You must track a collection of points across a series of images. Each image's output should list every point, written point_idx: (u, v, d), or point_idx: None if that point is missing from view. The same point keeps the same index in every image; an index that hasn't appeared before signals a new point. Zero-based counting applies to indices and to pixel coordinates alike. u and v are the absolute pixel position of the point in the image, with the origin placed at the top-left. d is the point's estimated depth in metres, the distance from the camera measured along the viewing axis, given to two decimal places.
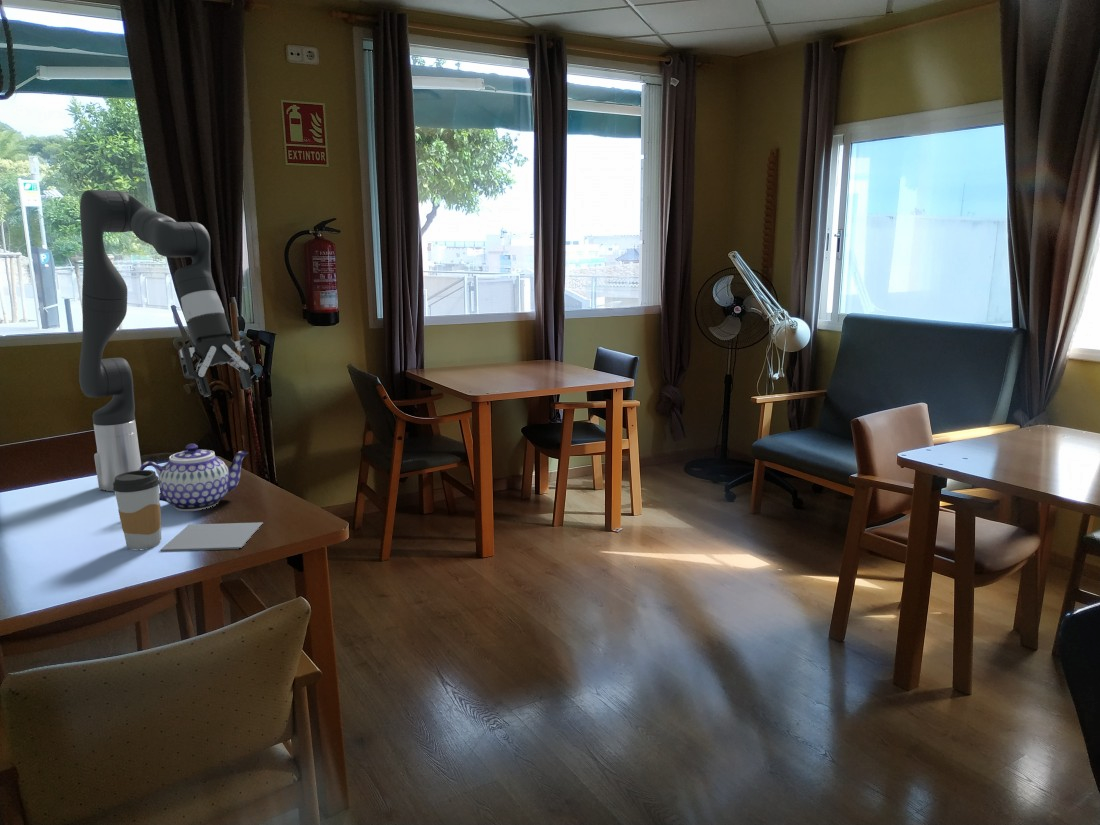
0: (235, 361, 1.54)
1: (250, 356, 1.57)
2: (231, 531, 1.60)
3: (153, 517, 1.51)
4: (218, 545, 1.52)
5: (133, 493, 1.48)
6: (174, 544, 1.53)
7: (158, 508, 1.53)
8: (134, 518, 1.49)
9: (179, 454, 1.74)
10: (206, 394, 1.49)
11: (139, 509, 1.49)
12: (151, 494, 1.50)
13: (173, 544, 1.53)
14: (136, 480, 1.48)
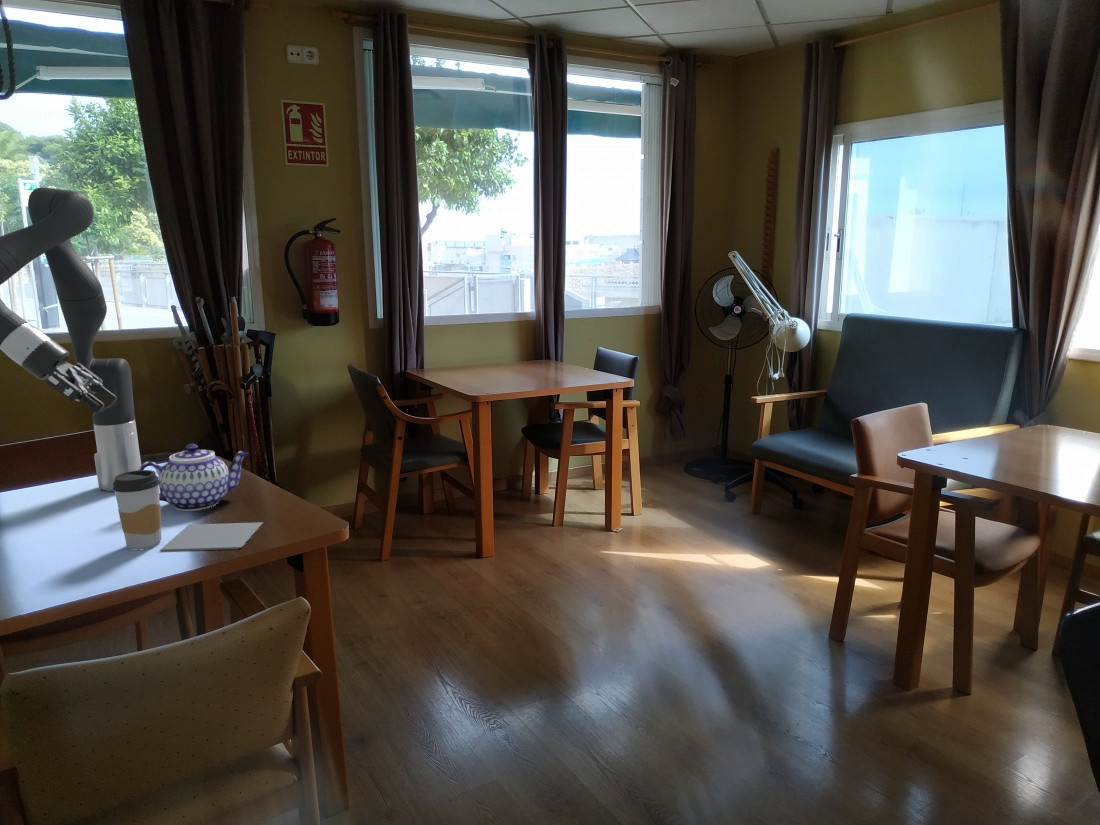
0: None
1: None
2: (231, 531, 1.60)
3: (153, 517, 1.51)
4: (218, 545, 1.52)
5: (133, 493, 1.48)
6: (174, 544, 1.53)
7: (158, 508, 1.53)
8: (134, 518, 1.49)
9: (179, 454, 1.74)
10: None
11: (139, 509, 1.49)
12: (151, 494, 1.50)
13: (173, 544, 1.53)
14: (136, 480, 1.48)
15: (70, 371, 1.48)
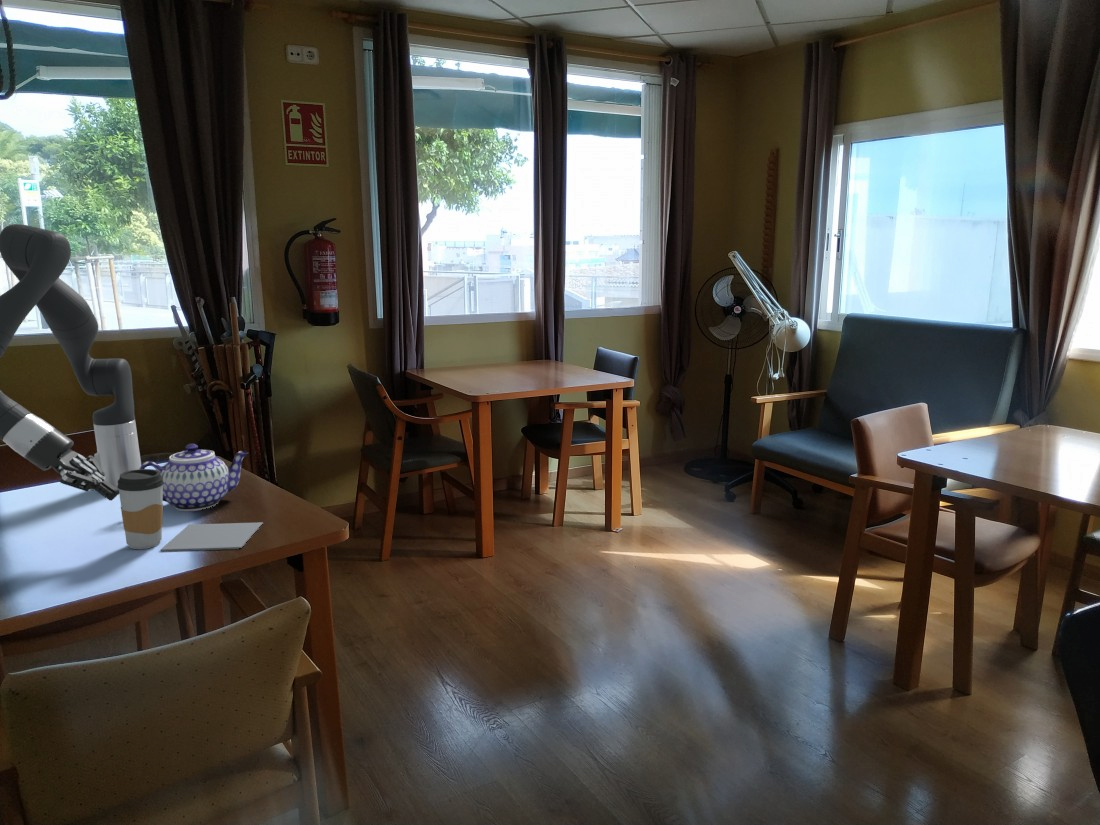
0: None
1: None
2: (231, 531, 1.60)
3: (155, 517, 1.51)
4: (218, 545, 1.52)
5: (138, 492, 1.48)
6: (174, 544, 1.53)
7: (160, 508, 1.53)
8: (136, 517, 1.49)
9: (179, 454, 1.74)
10: None
11: (142, 509, 1.49)
12: (155, 494, 1.50)
13: (173, 544, 1.53)
14: (141, 479, 1.48)
15: (76, 463, 1.46)
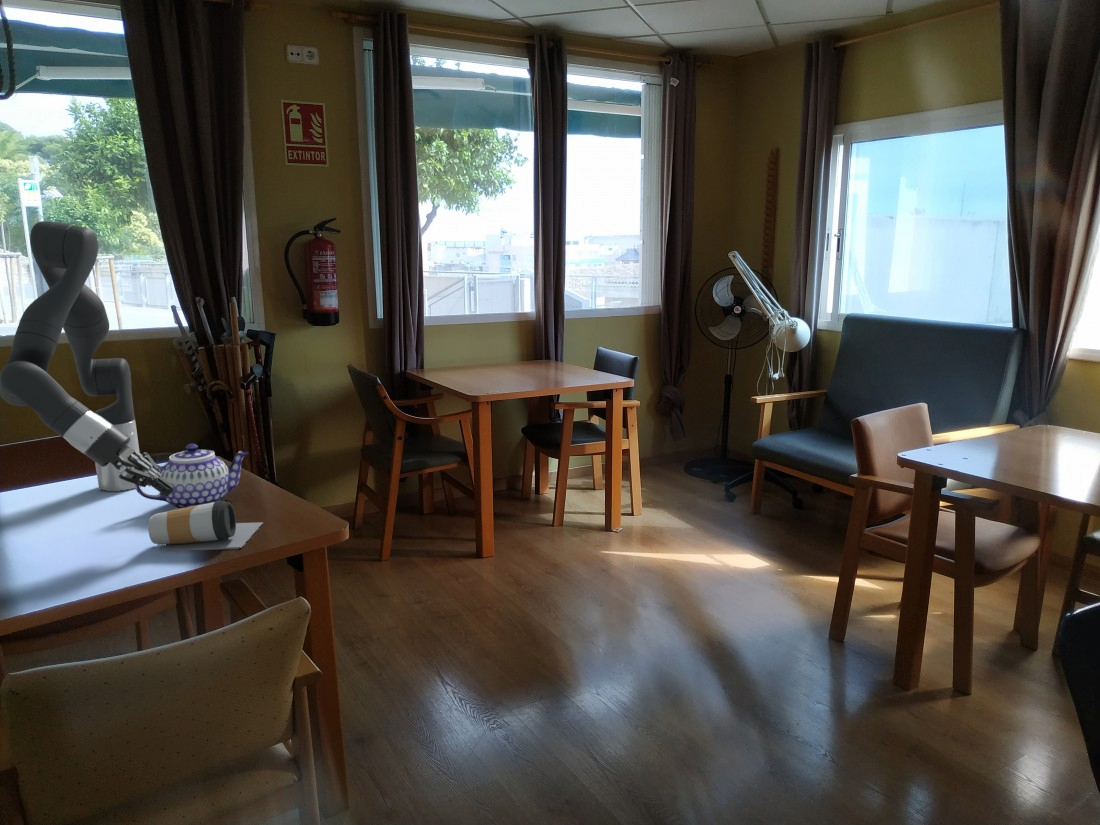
0: None
1: None
2: None
3: None
4: (218, 545, 1.52)
5: (214, 536, 1.51)
6: (174, 544, 1.53)
7: None
8: (186, 536, 1.50)
9: (179, 454, 1.74)
10: None
11: (196, 539, 1.51)
12: None
13: (173, 544, 1.53)
14: (228, 534, 1.52)
15: (134, 459, 1.48)
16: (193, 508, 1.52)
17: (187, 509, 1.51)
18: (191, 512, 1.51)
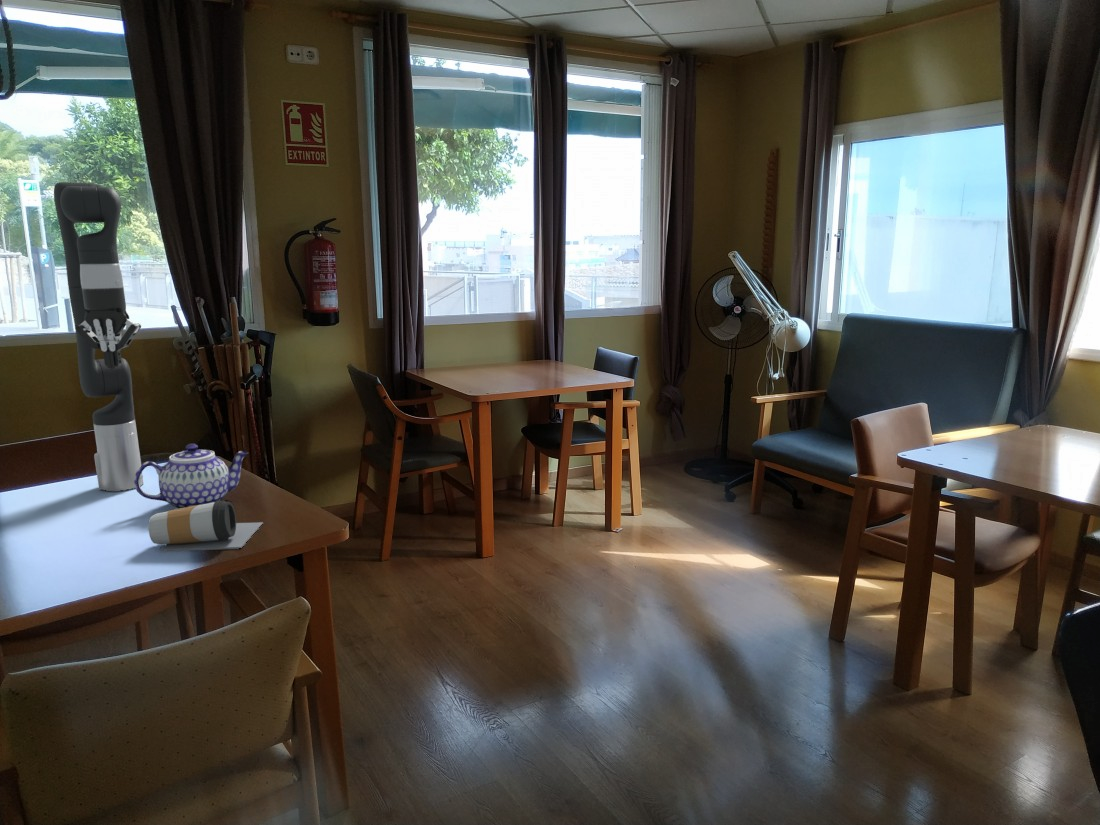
0: None
1: (123, 339, 1.56)
2: None
3: (189, 542, 1.53)
4: (218, 545, 1.52)
5: (214, 535, 1.51)
6: (174, 544, 1.53)
7: None
8: (186, 536, 1.50)
9: (179, 454, 1.74)
10: None
11: (196, 539, 1.51)
12: None
13: (173, 544, 1.53)
14: (228, 534, 1.52)
15: None
16: (193, 508, 1.52)
17: (187, 509, 1.52)
18: (191, 512, 1.51)
